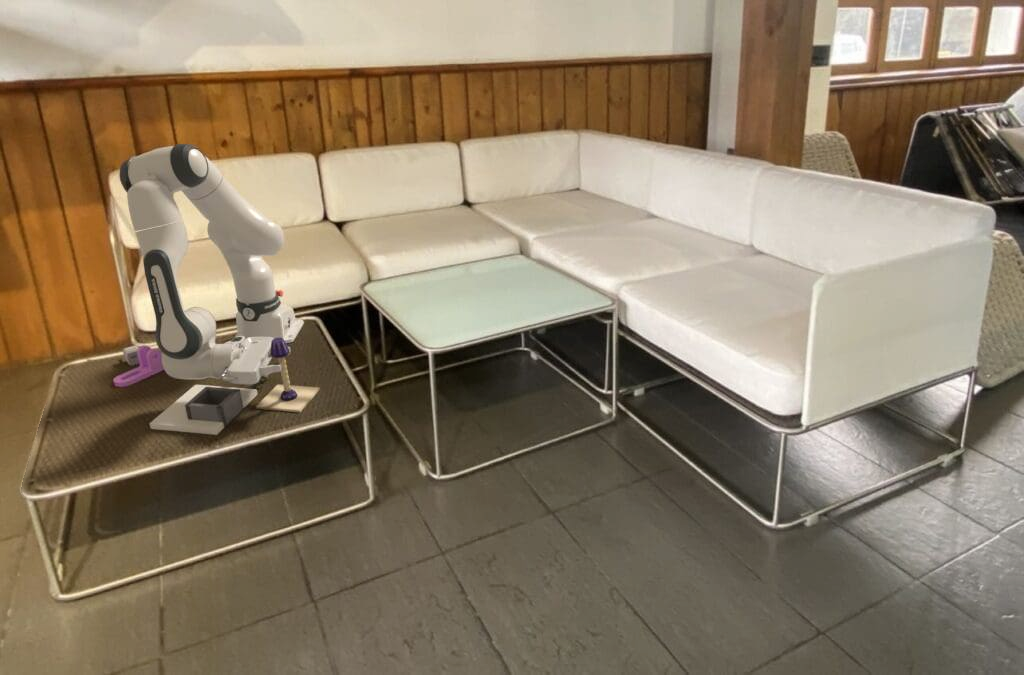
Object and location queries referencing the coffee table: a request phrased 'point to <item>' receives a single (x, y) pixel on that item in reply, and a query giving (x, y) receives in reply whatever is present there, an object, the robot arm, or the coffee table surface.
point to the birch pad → (295, 405)
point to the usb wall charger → (131, 355)
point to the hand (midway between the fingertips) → (285, 359)
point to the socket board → (204, 409)
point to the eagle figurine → (250, 386)
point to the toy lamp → (283, 367)
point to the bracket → (141, 367)
